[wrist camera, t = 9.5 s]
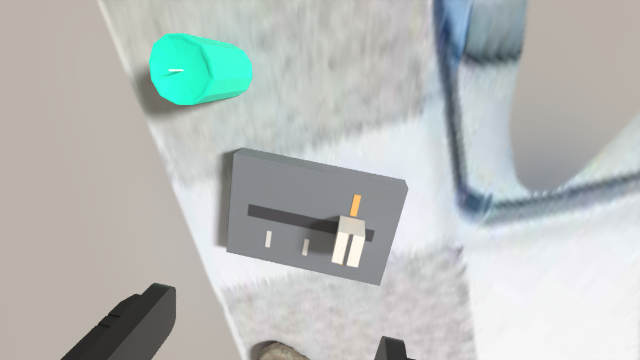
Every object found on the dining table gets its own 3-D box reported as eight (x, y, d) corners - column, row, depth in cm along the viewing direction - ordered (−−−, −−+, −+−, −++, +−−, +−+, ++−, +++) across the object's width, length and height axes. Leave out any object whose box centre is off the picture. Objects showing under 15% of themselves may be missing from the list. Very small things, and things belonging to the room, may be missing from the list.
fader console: (242, 147, 39) (233, 153, 36) (404, 180, 38) (408, 189, 35) (234, 240, 44) (226, 252, 41) (378, 271, 43) (379, 286, 40)
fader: (340, 215, 37) (338, 231, 33) (364, 220, 37) (365, 237, 33) (334, 243, 38) (331, 262, 35) (357, 248, 38) (357, 268, 34)
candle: (232, 107, 38) (177, 122, 26) (194, 71, 37) (122, 70, 25) (263, 70, 36) (218, 70, 24) (224, 31, 35) (160, 11, 23)
